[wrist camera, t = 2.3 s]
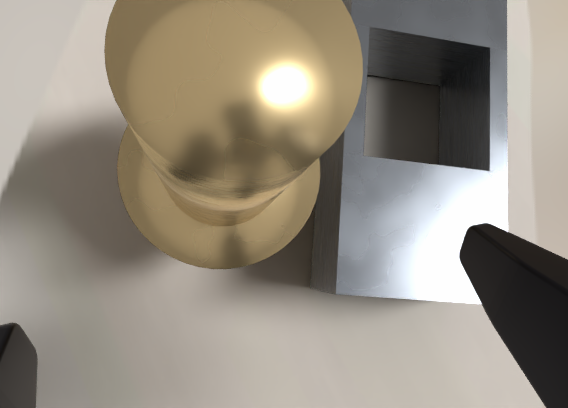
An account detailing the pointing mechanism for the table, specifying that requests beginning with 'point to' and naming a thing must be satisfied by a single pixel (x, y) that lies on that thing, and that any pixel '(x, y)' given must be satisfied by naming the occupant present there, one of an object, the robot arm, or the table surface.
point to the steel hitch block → (412, 175)
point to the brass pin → (228, 118)
